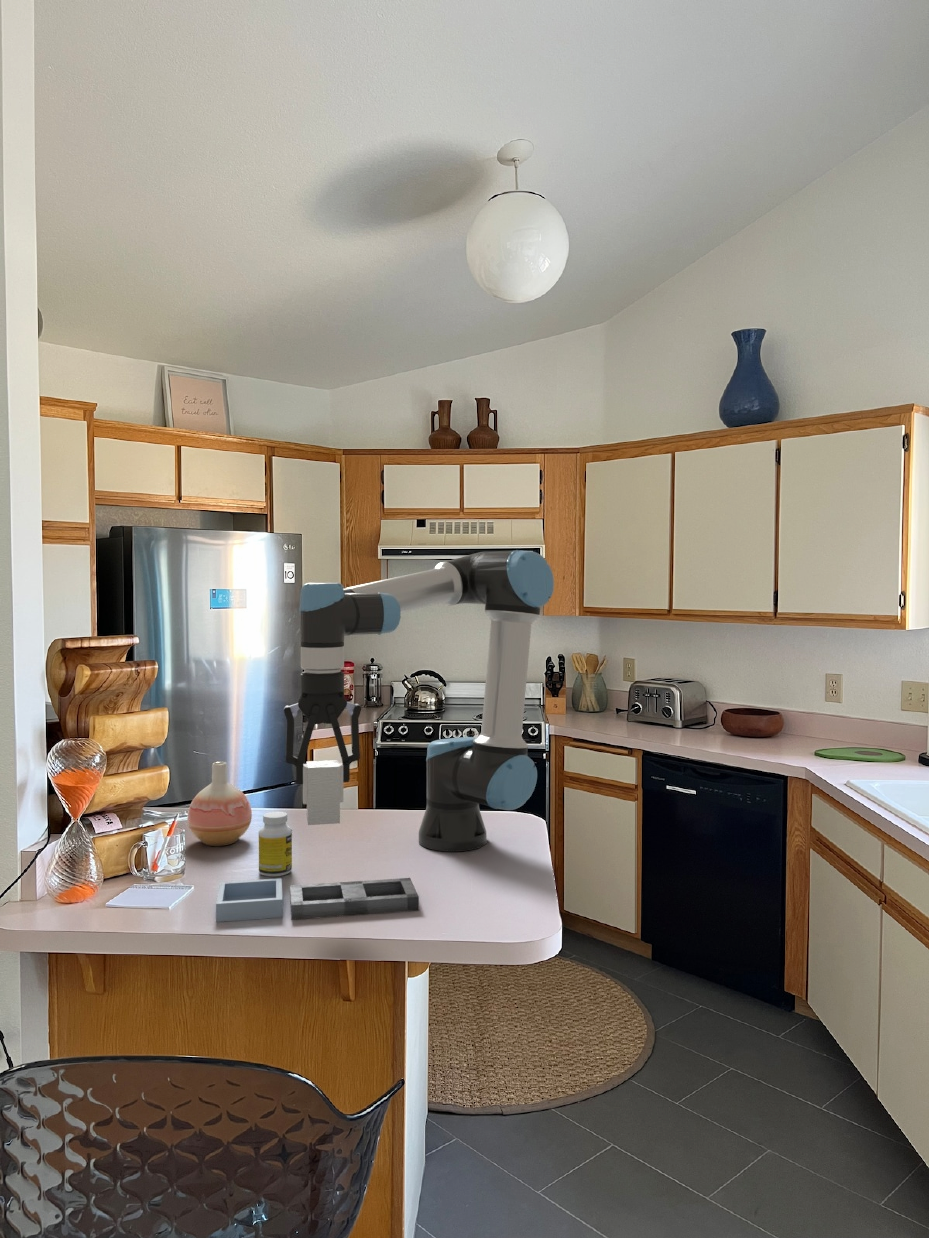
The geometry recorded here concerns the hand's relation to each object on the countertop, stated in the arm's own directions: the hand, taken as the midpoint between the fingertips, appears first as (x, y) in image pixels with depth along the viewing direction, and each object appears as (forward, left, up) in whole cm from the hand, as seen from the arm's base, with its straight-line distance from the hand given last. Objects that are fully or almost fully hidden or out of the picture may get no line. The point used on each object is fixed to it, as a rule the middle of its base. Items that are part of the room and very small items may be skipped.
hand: (323, 800), depth 157 cm
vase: (+20, -43, -19) cm, 52 cm away
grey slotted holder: (-5, 0, -19) cm, 20 cm away
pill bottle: (+8, -20, -19) cm, 29 cm away
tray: (+13, -2, -19) cm, 23 cm away
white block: (0, 0, -3) cm, 3 cm away
